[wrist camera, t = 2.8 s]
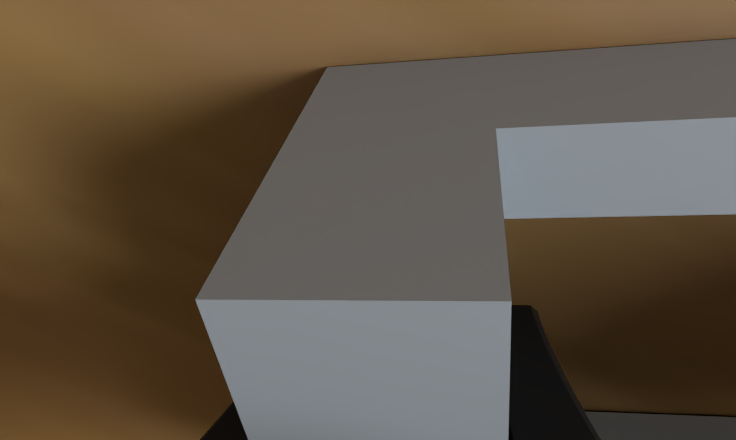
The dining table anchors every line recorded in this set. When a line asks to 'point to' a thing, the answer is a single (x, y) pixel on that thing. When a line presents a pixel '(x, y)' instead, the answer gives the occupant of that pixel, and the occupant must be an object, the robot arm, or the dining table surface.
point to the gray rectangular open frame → (450, 231)
